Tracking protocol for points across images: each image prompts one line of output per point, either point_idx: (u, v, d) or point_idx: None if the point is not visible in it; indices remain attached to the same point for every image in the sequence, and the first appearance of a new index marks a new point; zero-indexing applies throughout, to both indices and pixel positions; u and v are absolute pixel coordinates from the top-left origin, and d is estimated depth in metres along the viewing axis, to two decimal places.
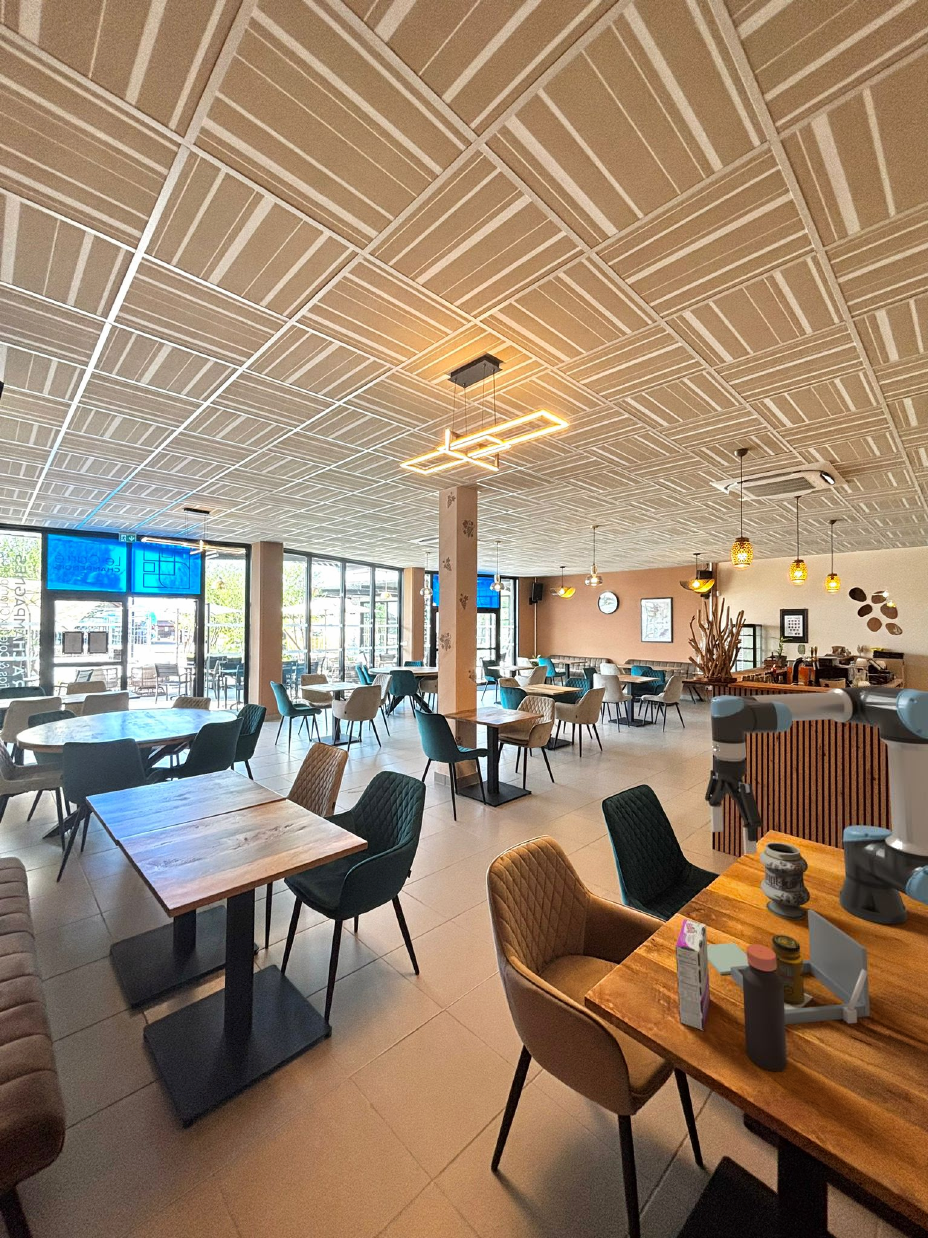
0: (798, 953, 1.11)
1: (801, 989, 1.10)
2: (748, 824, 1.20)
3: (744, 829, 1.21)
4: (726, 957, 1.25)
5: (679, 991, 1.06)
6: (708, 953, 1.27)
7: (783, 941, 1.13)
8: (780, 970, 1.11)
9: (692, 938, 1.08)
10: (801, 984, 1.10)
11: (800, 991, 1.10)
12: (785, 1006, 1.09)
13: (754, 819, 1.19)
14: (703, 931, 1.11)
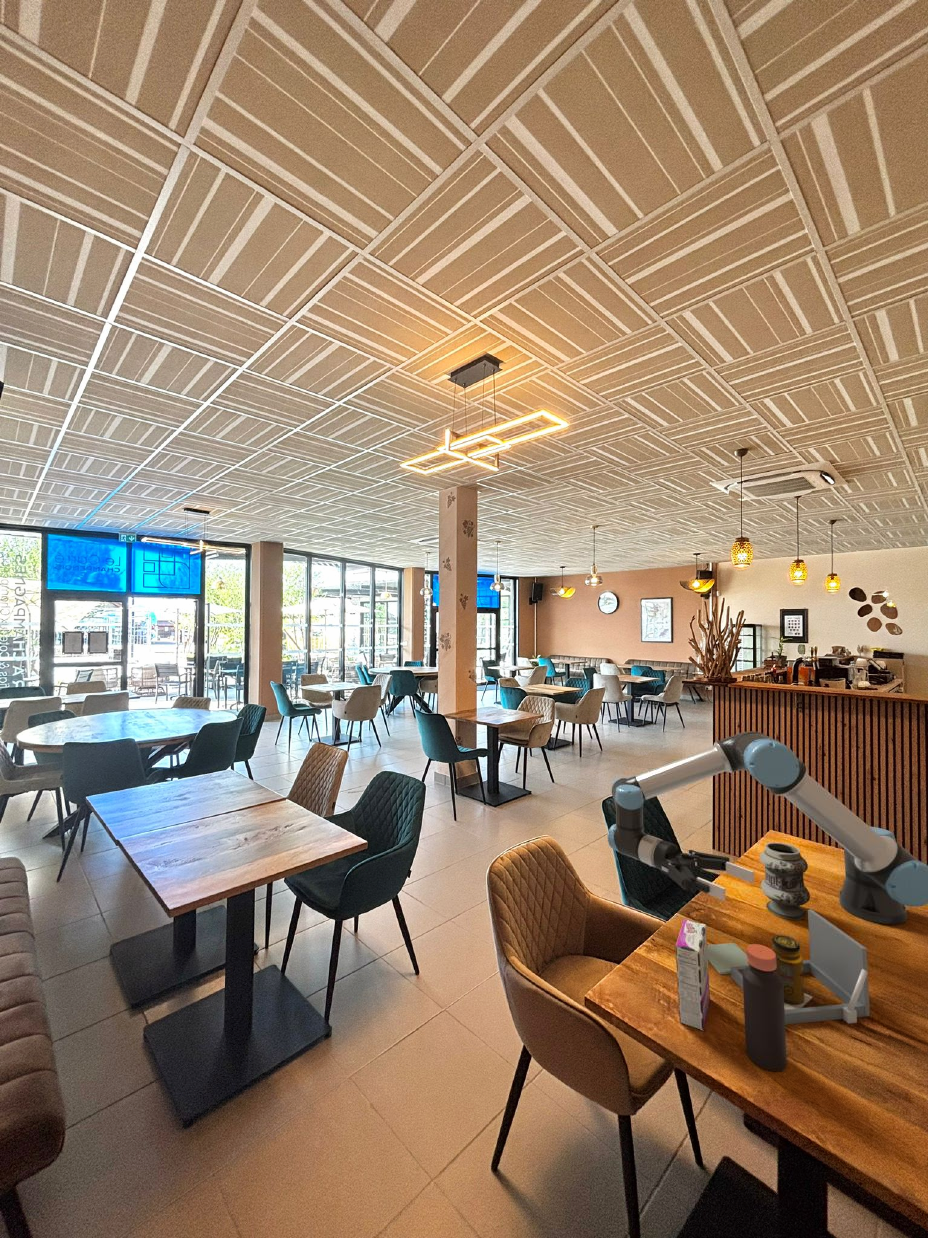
0: (798, 953, 1.11)
1: (801, 989, 1.10)
2: None
3: None
4: (726, 957, 1.25)
5: (679, 991, 1.06)
6: (708, 953, 1.27)
7: (783, 941, 1.13)
8: (780, 970, 1.11)
9: (692, 938, 1.08)
10: (801, 984, 1.10)
11: (800, 991, 1.10)
12: (785, 1006, 1.09)
13: (681, 884, 1.23)
14: (703, 931, 1.11)
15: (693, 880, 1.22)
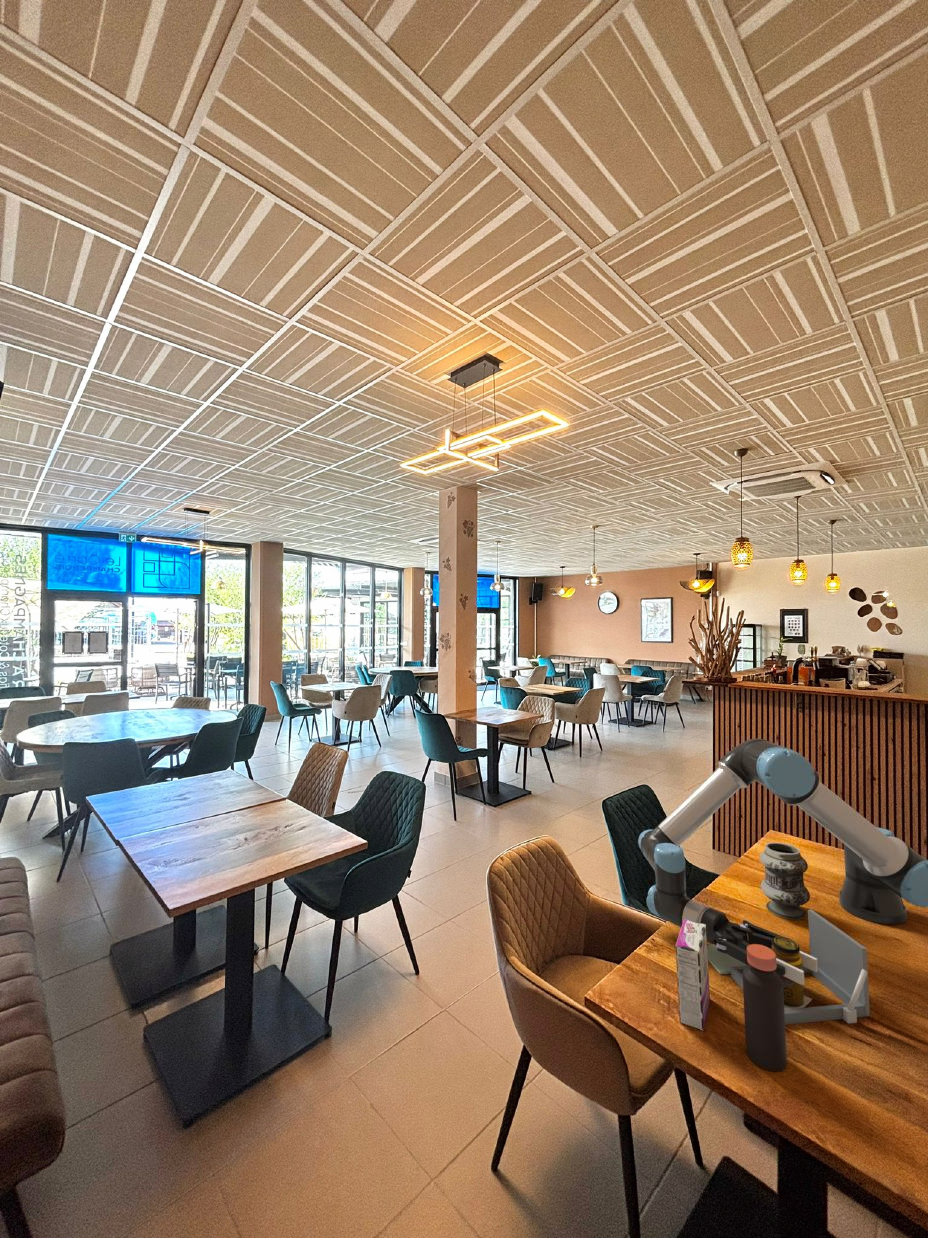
0: (798, 955, 1.10)
1: (801, 991, 1.10)
2: None
3: None
4: (726, 957, 1.25)
5: (679, 991, 1.06)
6: (708, 953, 1.27)
7: (783, 943, 1.13)
8: None
9: (692, 938, 1.08)
10: (801, 986, 1.10)
11: (799, 993, 1.09)
12: (784, 1008, 1.09)
13: None
14: (703, 931, 1.11)
15: None
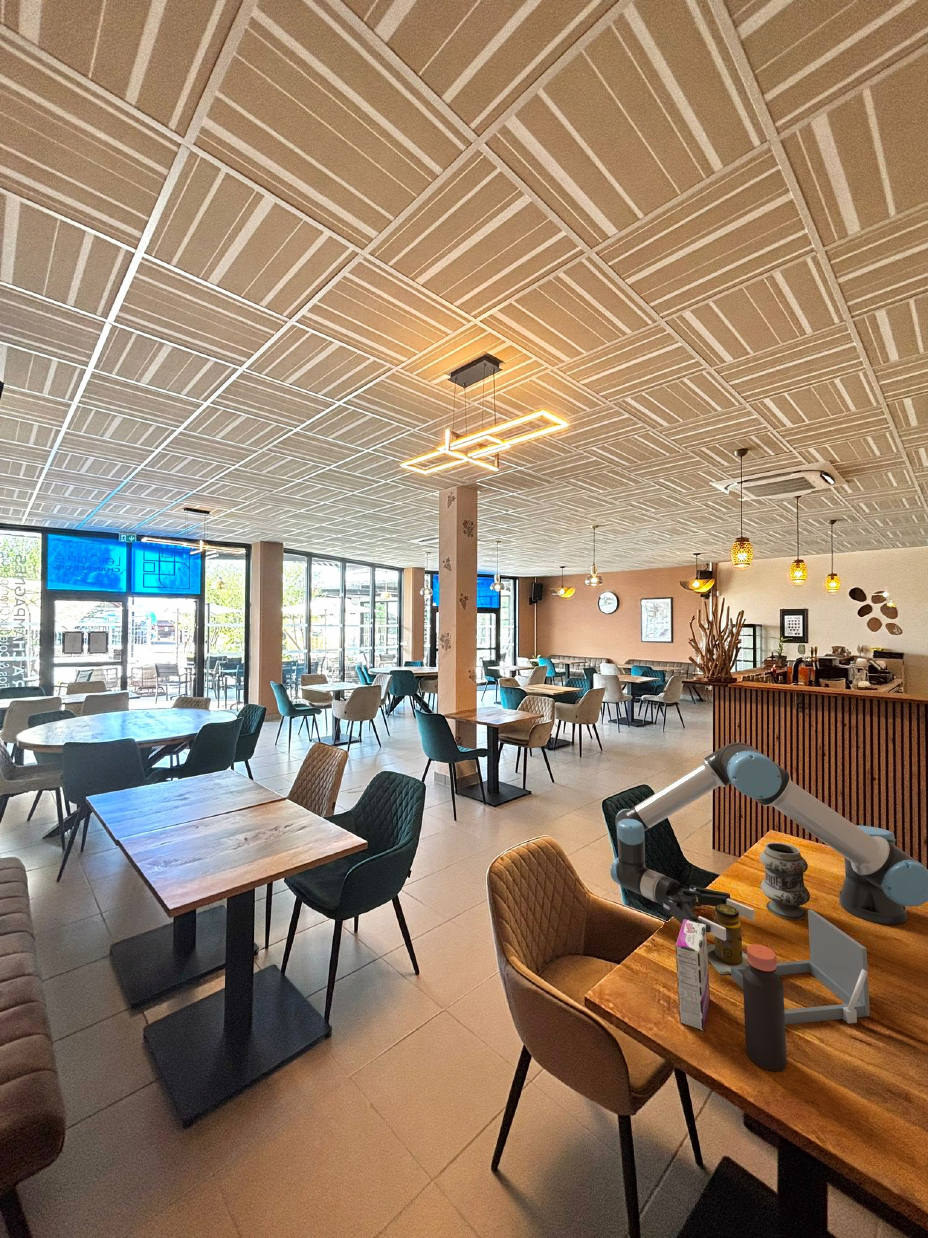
0: (737, 919, 1.23)
1: (739, 951, 1.23)
2: None
3: None
4: None
5: (679, 991, 1.06)
6: None
7: (724, 909, 1.26)
8: None
9: (692, 938, 1.08)
10: (739, 947, 1.23)
11: (738, 953, 1.22)
12: (724, 966, 1.22)
13: None
14: (703, 931, 1.11)
15: (694, 919, 1.24)
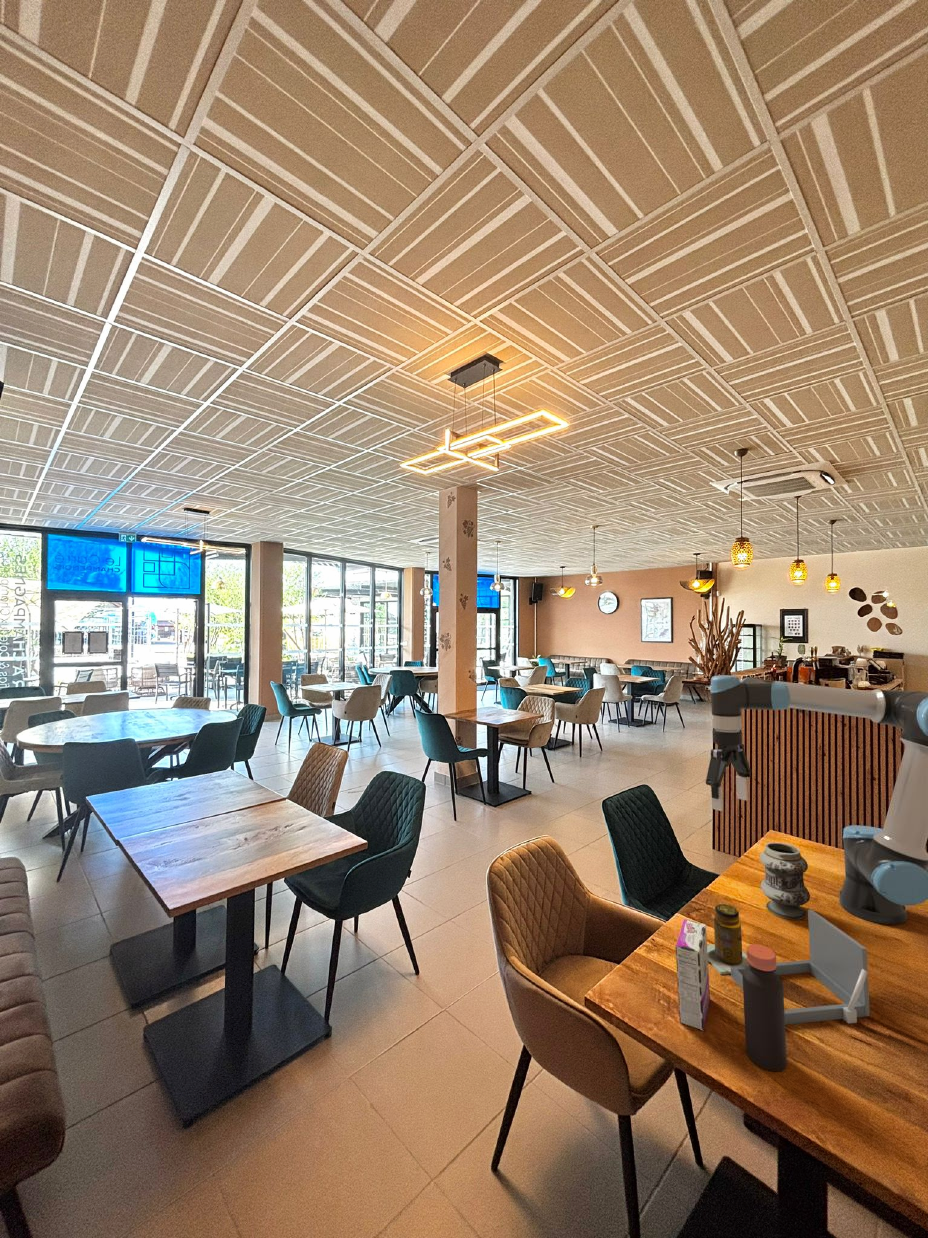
0: (737, 919, 1.23)
1: (739, 951, 1.23)
2: None
3: None
4: None
5: (679, 991, 1.06)
6: None
7: (724, 909, 1.26)
8: (720, 935, 1.24)
9: (692, 938, 1.08)
10: (739, 947, 1.23)
11: (738, 953, 1.22)
12: (724, 966, 1.22)
13: (709, 778, 1.40)
14: (703, 931, 1.11)
15: (717, 787, 1.39)
